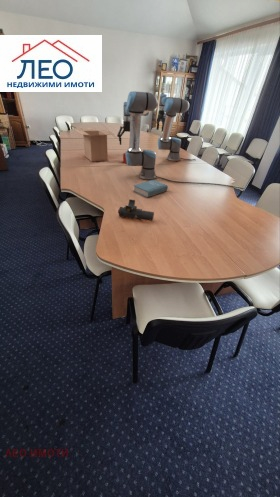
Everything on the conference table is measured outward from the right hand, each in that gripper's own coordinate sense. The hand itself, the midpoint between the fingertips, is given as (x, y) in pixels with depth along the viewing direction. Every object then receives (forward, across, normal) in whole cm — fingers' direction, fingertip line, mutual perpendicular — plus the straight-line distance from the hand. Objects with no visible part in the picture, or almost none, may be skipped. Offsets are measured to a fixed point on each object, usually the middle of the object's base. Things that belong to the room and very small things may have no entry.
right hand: (160, 130), depth 270 cm
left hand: (+7, +36, -56) cm, 68 cm away
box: (+26, +12, -84) cm, 88 cm away
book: (+26, +116, -64) cm, 135 cm away
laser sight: (+26, +154, -93) cm, 182 cm away
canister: (+26, +33, -54) cm, 69 cm away
